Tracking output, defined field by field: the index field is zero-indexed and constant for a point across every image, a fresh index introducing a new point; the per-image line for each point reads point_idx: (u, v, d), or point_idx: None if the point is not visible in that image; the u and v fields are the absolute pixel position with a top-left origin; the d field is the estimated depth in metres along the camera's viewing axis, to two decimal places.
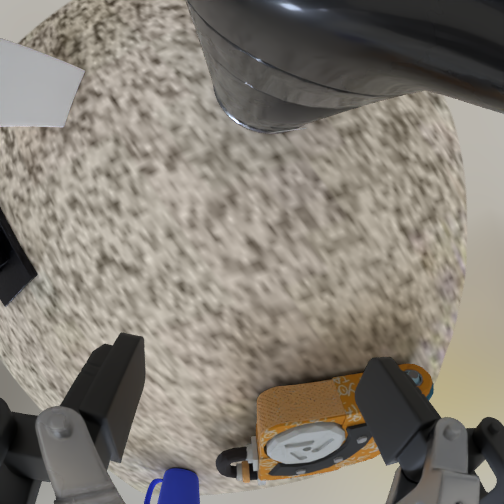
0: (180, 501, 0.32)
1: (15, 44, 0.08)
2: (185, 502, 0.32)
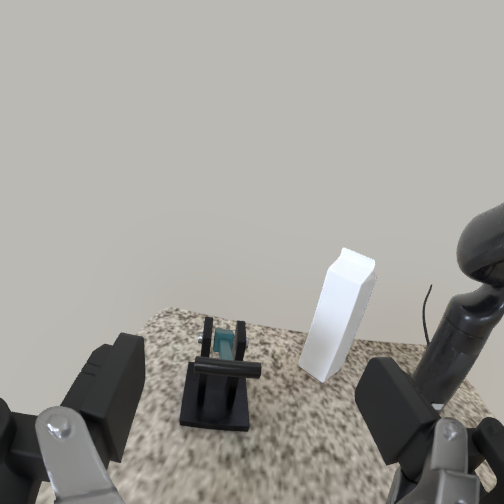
0: None
1: (360, 321, 0.43)
2: None
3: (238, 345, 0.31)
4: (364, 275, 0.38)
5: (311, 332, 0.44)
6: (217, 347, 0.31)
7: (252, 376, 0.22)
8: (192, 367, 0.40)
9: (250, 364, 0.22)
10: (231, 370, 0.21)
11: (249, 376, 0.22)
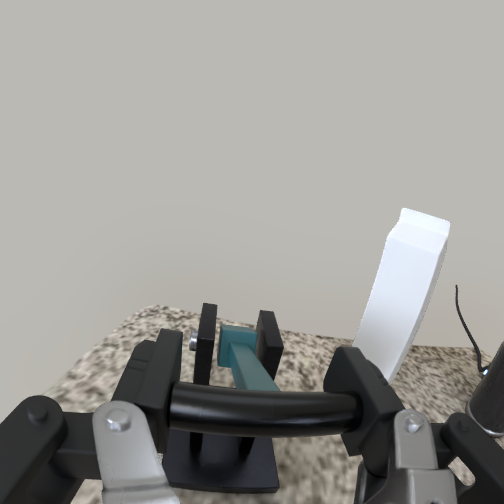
0: None
1: None
2: None
3: (267, 353, 0.16)
4: (439, 242, 0.23)
5: (360, 333, 0.28)
6: (225, 358, 0.16)
7: (338, 431, 0.07)
8: None
9: (334, 399, 0.07)
10: (283, 423, 0.06)
11: (330, 432, 0.07)
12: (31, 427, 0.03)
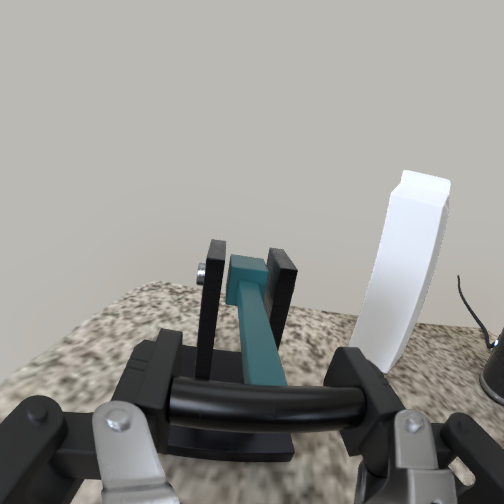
0: None
1: None
2: None
3: (280, 278, 0.15)
4: (441, 198, 0.23)
5: (369, 295, 0.28)
6: (234, 296, 0.16)
7: (338, 429, 0.07)
8: (185, 352, 0.24)
9: (339, 401, 0.07)
10: (283, 426, 0.06)
11: (330, 430, 0.07)
12: (30, 427, 0.03)
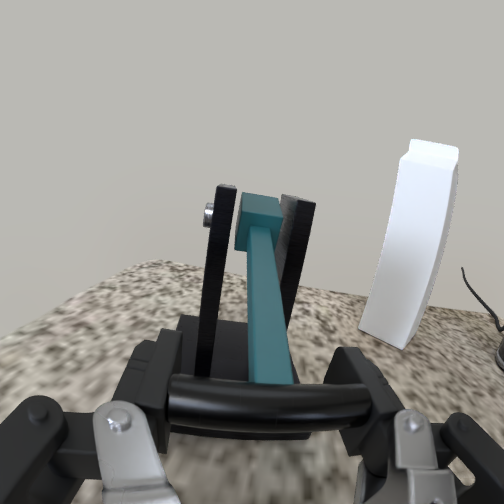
0: None
1: None
2: None
3: (298, 211, 0.14)
4: (450, 163, 0.21)
5: (381, 264, 0.27)
6: (244, 242, 0.15)
7: None
8: (187, 322, 0.22)
9: (344, 407, 0.06)
10: (285, 430, 0.06)
11: None
12: (31, 427, 0.03)
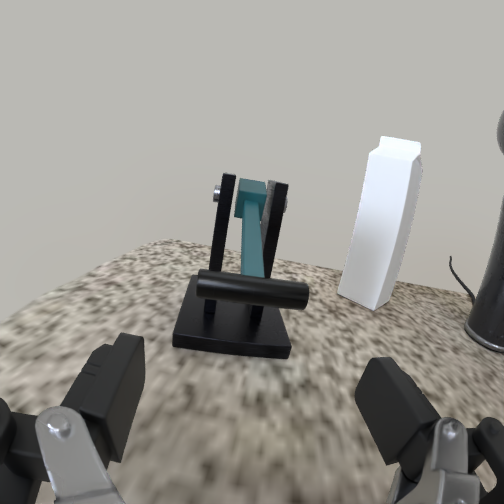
0: None
1: (410, 227, 0.33)
2: None
3: (276, 190, 0.21)
4: (412, 156, 0.28)
5: (354, 239, 0.34)
6: (240, 211, 0.22)
7: (291, 308, 0.14)
8: None
9: (291, 290, 0.14)
10: (258, 300, 0.13)
11: (287, 308, 0.14)
12: None
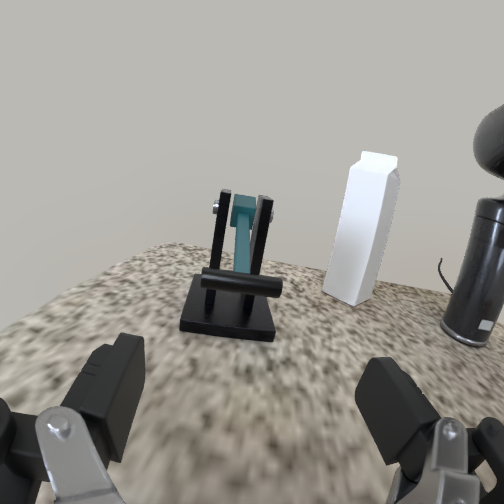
0: None
1: (388, 233, 0.38)
2: None
3: (263, 204, 0.26)
4: (388, 169, 0.33)
5: (336, 243, 0.39)
6: (235, 222, 0.27)
7: (270, 296, 0.19)
8: (199, 277, 0.35)
9: (269, 282, 0.19)
10: (245, 289, 0.19)
11: (266, 296, 0.19)
12: None
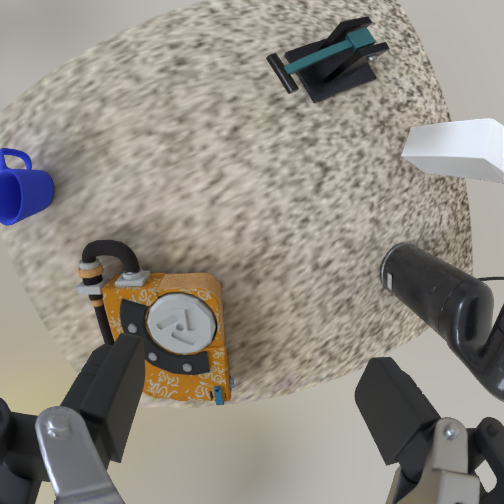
0: (29, 200, 0.29)
1: (465, 177, 0.30)
2: (27, 207, 0.29)
3: (357, 51, 0.24)
4: (495, 161, 0.21)
5: (437, 125, 0.31)
6: None
7: None
8: None
9: (287, 85, 0.28)
10: (278, 77, 0.28)
11: None
12: None
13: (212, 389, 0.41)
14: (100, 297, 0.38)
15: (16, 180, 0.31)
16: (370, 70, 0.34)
